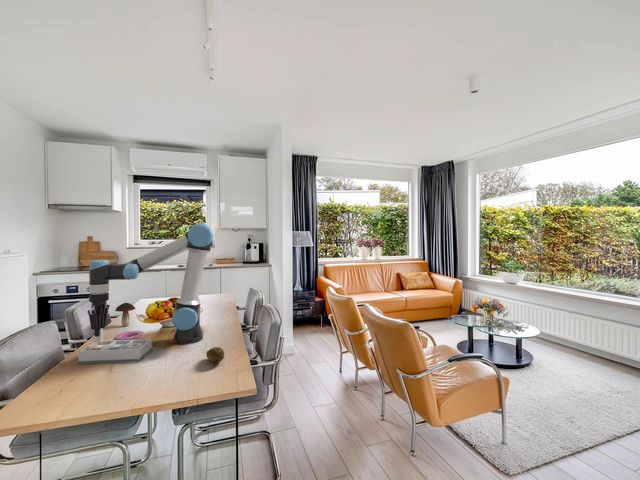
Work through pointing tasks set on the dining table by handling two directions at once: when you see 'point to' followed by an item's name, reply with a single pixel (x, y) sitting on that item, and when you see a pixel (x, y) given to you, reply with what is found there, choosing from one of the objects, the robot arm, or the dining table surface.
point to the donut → (130, 335)
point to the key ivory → (135, 346)
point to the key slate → (116, 346)
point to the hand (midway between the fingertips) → (98, 342)
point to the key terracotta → (98, 347)
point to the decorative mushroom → (125, 312)
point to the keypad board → (115, 352)
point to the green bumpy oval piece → (215, 354)
